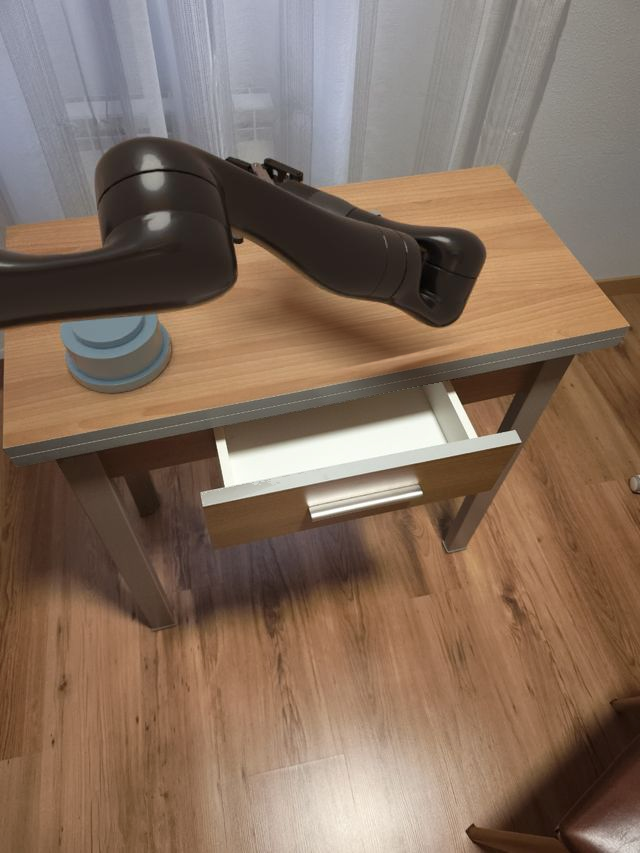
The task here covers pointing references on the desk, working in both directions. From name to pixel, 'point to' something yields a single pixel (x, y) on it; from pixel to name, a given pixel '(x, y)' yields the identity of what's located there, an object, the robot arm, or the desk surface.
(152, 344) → the blue stepped cylinder
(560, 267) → the desk surface
